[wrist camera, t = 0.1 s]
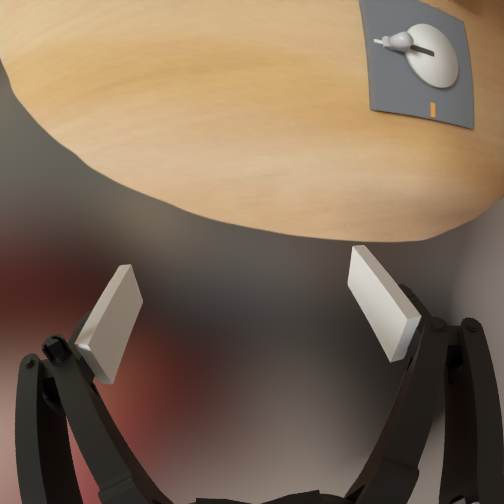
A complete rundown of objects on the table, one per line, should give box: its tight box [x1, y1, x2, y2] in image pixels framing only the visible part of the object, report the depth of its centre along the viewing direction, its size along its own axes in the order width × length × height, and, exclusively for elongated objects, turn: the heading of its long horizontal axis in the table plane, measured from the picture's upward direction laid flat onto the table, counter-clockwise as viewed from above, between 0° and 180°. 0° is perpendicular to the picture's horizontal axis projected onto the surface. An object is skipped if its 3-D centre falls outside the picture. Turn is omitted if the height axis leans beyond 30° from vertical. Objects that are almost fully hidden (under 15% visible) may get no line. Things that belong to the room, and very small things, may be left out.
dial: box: [382, 24, 458, 88], centre depth 26 cm, size 16×12×5 cm
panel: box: [359, 0, 474, 129], centre depth 30 cm, size 24×24×2 cm
